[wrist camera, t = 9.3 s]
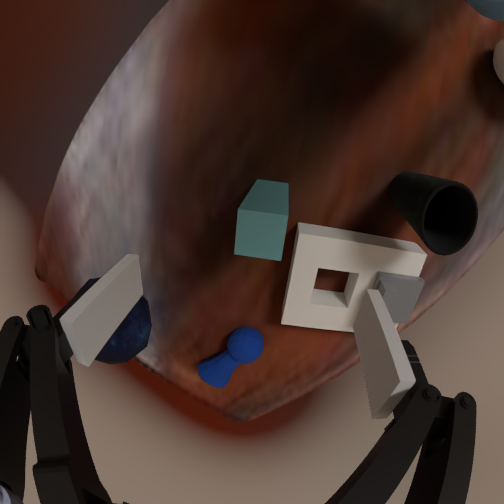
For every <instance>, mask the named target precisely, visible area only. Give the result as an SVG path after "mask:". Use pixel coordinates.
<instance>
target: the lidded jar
mask: <svg viewBox="0 0 504 504" xmlns="http://www.w3.org/2000/svg"><path fill="white" fill-rule="evenodd" d="M493 65H494V69H495V72H496V74H497V76H498V78H499V79H500V81H501V82H502V83H503V84H504V39H502V40H501V41H499V42H498V43H497V45H496V46H495V49H494V56H493Z"/></svg>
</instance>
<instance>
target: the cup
mask: <svg viewBox="0 0 504 504" xmlns="http://www.w3.org/2000/svg"><path fill="white" fill-rule="evenodd" d="M390 198H391V201H392V203H393V204H394V206H395V207H396V208H397V209H398V210H399V212H400V213H401V214H402V215H403V216H404V218H405V219H406V220H407V221H408V223H409V224H410V225H411V226H412V228H413V229H414V230H415V232H416V233H417V234H418V236H419V237H420V238H421V239H422V241H423V242H424V244H425V245H426V246H427V247H428V248H429V249H430V250H431V251H432V252H434V253H436V254H438V255H451V254H453V253H456V252H458V251H459V250H460V249H462V248H463V247H464V246H465V245H466V244H467V243H468V242H469V240H470V239H471V237H472V235H473V233H474V231H475V228H476V225H477V219H478V207H477V202H476V199H475V197H474V195H473V193H472V192H471V190H470V189H469V188H468V187H467V186H465V185H464V184H462V183H459V182H455V181H451V180H447V179H443V178H438V177H433V176H429V175H424V174H419V173H413V172H403V173H400V174H399V175H397V176H396V177H395V178H394V180H393V181H392V183H391V186H390Z"/></svg>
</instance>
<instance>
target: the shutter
mask: <svg viewBox="0 0 504 504" xmlns="http://www.w3.org/2000/svg"><path fill="white" fill-rule="evenodd" d="M424 283H425V281H424V280H423V278H422V277H415V276H408V275H401V274H395V273H388V272H381V271H378V273H377V276H376V279H375V282H374V285H373V288H372V289H373V290H379V292H380V294H381V296H382V298H383V301H384V303H385V305H386V307H387V309H388V312H389V314H390V316H391V318H392V321H393V323H407V321H408V319H409V317H410V315H411V313H412V311H413V308H414V306H415V304H416V302H417V300H418V297H419V295H420V293H421V290H422V288H423V286H424Z"/></svg>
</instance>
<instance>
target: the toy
mask: <svg viewBox="0 0 504 504" xmlns="http://www.w3.org/2000/svg"><path fill="white" fill-rule="evenodd" d="M227 348H228V349H227V350H226V351H224V352H222V353H221V354H219V355H217V356H215V357H213V358H210V359H206V360H204V361H203V362H201V363H200V364H199V365H198V372H199V376H200V377H201V379H202V380H204V381H205V382H207V383H208V384H209V385H212V386H214V387H216V388H224V387H225V386H226V384H227V383H228V382H229V380H230V377H231V375H232V373H233V371H234V369H235V368H236V367H237V366H238V365H239V363H250V362H253V361H255V360H256V359H257V358H258V357H259V356H260V355H261V353H262V351H263V336H262V335H261V334H260V333H259V332H258V331H257V330H255V329H252V328H250V327H240V328H237V329H235V330H234V331H233V332H232V334H231V335H230V336H229V338H228V341H227Z"/></svg>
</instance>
